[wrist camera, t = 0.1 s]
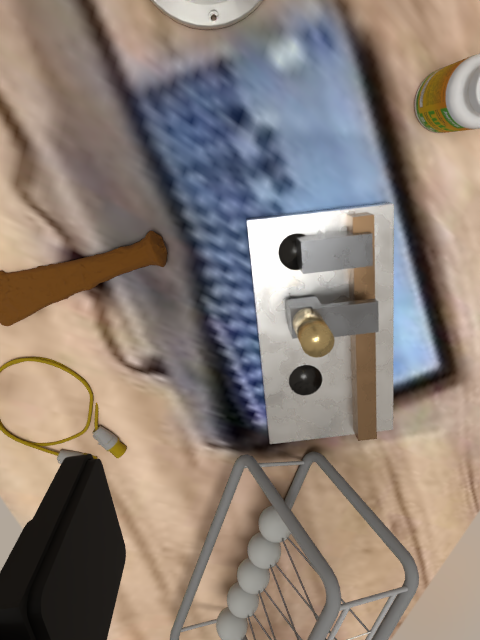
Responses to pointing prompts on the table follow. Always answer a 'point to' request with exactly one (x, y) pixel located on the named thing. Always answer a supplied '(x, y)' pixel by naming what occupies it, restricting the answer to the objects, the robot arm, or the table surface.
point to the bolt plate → (329, 287)
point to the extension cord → (100, 433)
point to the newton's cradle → (267, 551)
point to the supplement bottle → (451, 97)
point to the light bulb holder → (329, 322)
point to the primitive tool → (72, 277)
